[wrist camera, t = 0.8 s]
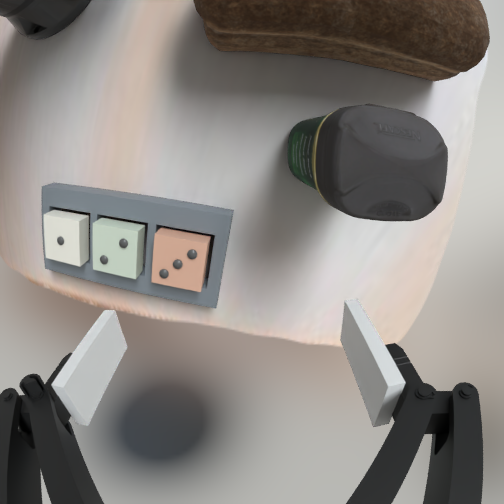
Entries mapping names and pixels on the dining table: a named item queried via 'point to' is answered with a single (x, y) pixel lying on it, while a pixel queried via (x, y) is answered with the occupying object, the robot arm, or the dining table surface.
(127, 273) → the button two
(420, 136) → the coffee jar
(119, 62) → the dining table surface
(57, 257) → the button one
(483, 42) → the bread
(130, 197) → the console
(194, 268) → the button three
